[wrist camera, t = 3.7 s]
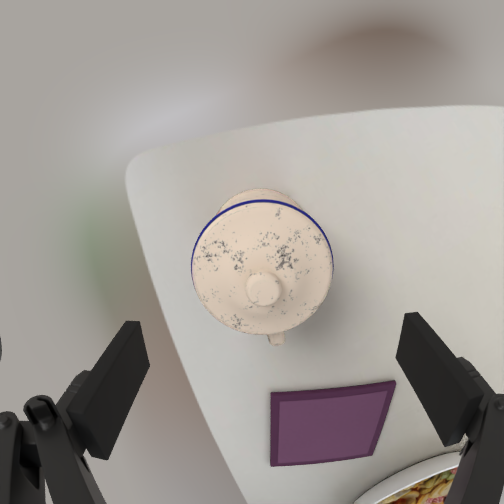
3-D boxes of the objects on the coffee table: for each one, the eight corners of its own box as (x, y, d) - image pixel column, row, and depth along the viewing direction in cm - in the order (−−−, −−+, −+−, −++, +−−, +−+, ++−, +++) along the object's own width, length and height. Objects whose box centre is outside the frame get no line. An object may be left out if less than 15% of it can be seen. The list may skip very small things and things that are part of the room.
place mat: (270, 463, 38) (270, 467, 38) (270, 392, 34) (270, 396, 33) (371, 452, 38) (372, 455, 37) (394, 380, 33) (396, 383, 33)
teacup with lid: (199, 196, 27) (161, 227, 16) (303, 176, 27) (336, 194, 16) (228, 318, 31) (215, 401, 20) (321, 302, 30) (351, 379, 19)
